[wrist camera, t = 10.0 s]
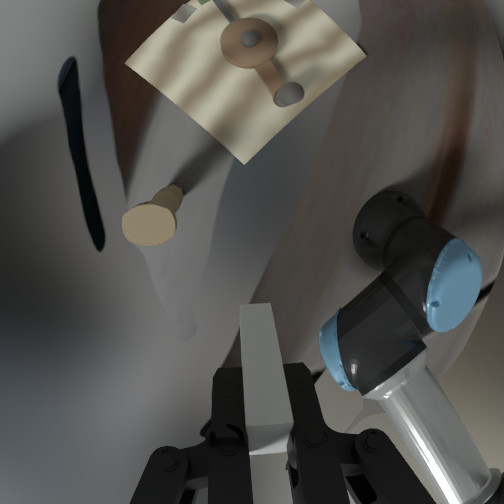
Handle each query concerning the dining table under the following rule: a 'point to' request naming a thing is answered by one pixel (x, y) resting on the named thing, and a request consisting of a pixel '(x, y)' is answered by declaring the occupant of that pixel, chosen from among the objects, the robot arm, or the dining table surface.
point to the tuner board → (240, 79)
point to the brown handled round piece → (257, 54)
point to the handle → (153, 218)
